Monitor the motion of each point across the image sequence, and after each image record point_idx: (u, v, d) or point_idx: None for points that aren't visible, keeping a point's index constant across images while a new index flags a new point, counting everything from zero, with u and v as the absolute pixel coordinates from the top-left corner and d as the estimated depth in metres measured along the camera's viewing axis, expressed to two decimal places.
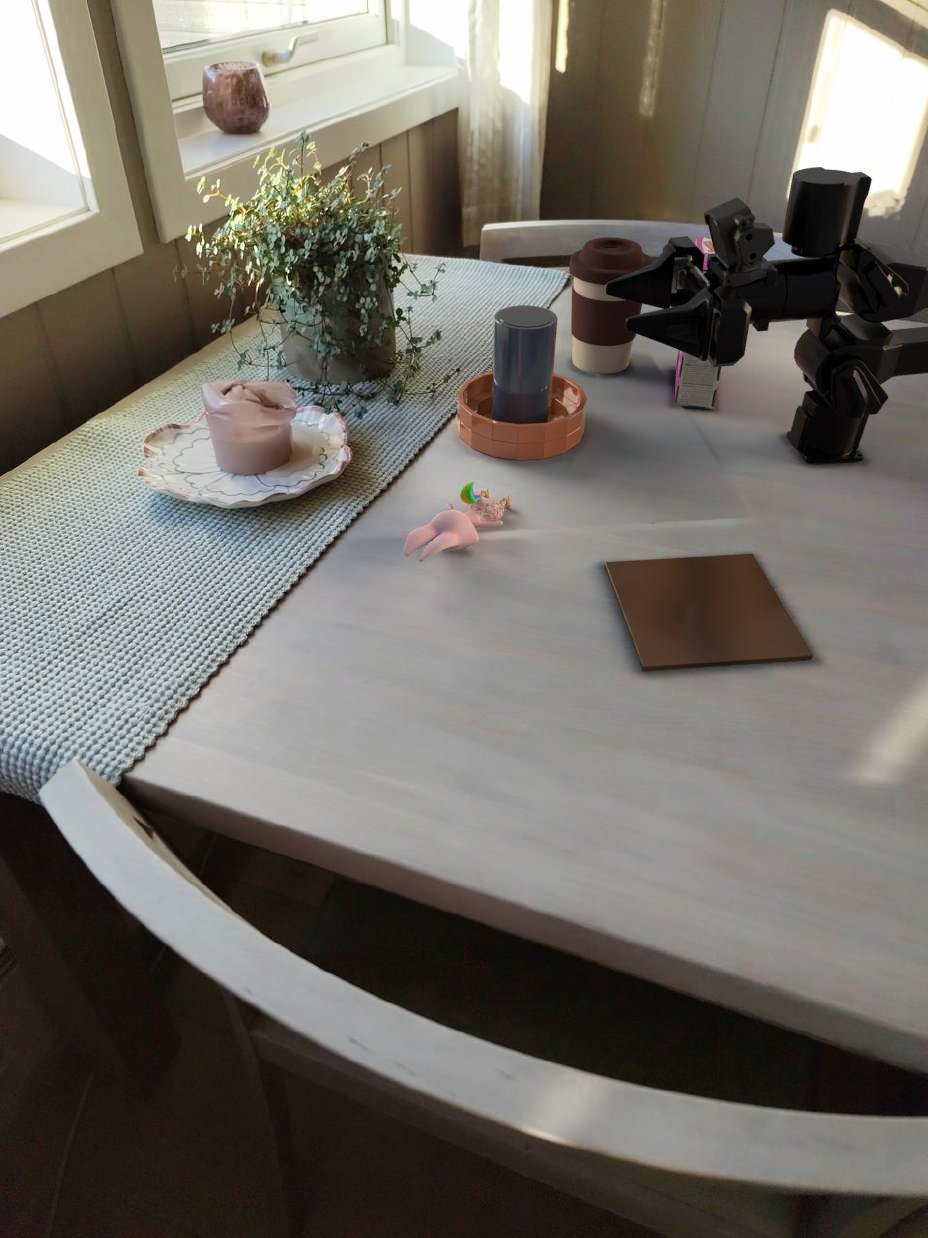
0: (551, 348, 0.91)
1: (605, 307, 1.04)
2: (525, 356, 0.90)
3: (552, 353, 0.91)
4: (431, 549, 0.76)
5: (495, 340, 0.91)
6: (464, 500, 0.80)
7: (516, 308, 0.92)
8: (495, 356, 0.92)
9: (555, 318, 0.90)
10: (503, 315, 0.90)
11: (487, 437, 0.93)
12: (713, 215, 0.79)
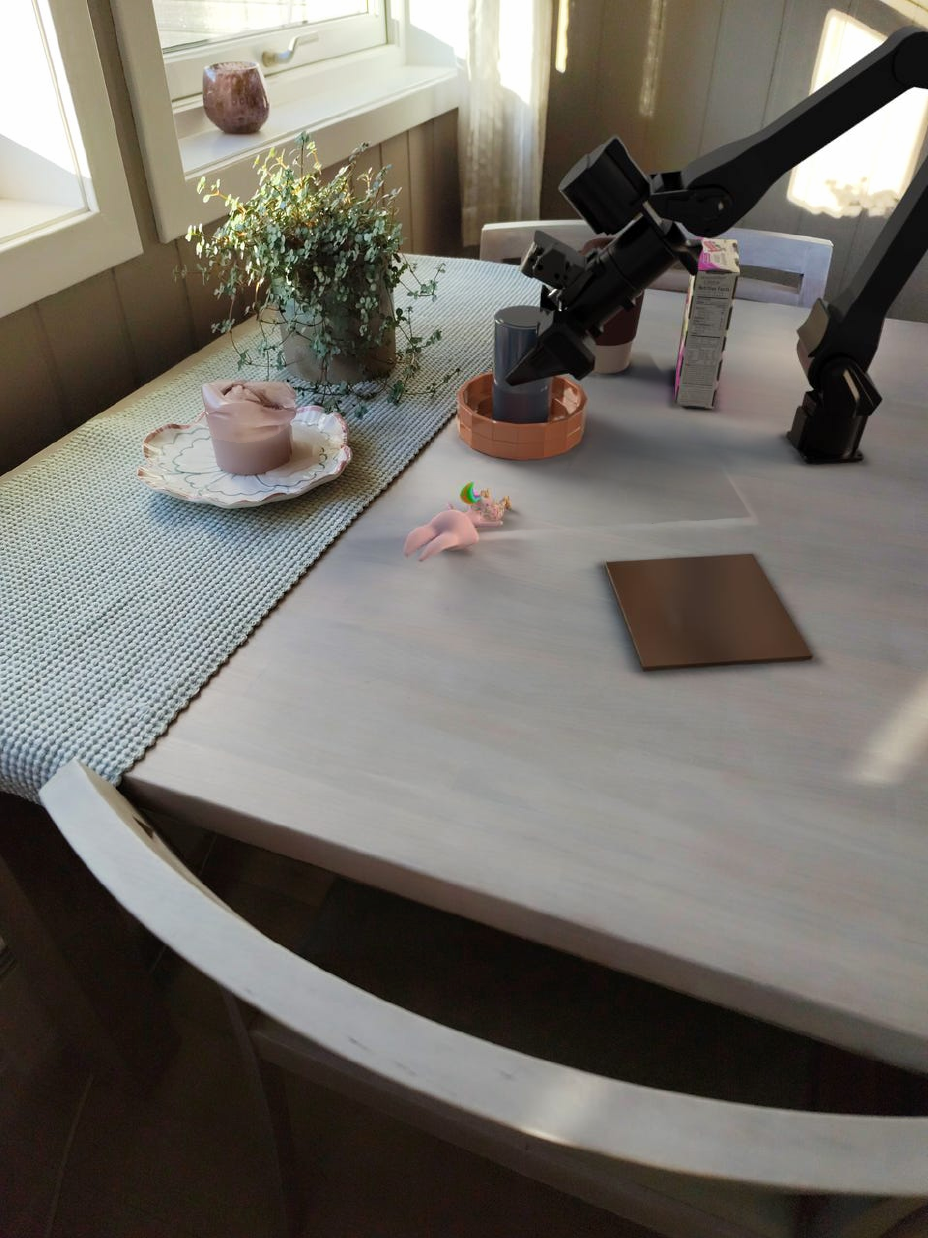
0: None
1: None
2: None
3: None
4: (431, 549, 0.76)
5: (495, 340, 0.91)
6: (464, 500, 0.80)
7: (516, 308, 0.92)
8: (495, 356, 0.92)
9: None
10: (502, 315, 0.90)
11: (487, 437, 0.93)
12: (521, 261, 0.87)
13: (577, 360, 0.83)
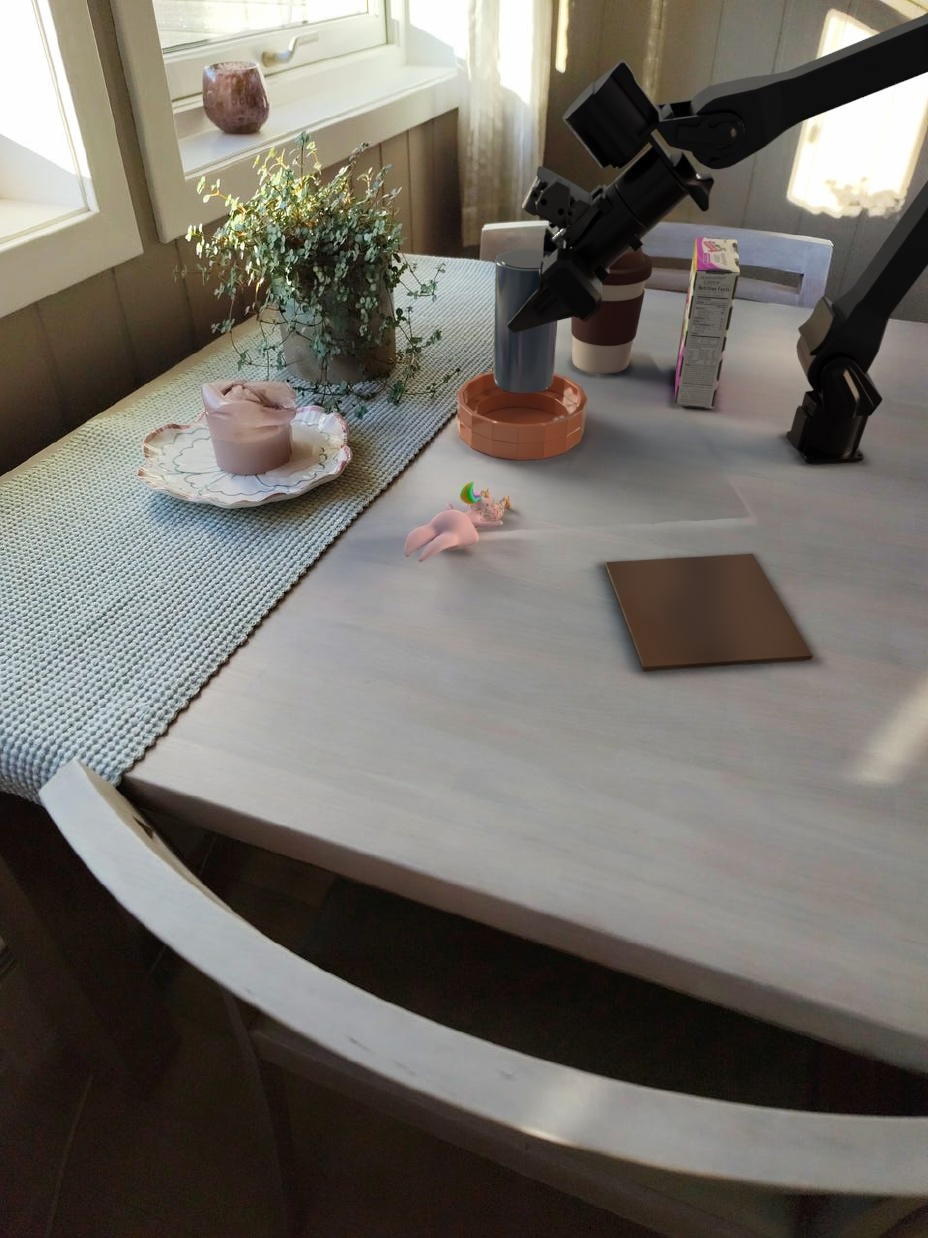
0: None
1: (605, 307, 1.04)
2: None
3: None
4: (431, 549, 0.76)
5: (496, 284, 0.87)
6: (464, 500, 0.80)
7: (518, 251, 0.88)
8: (496, 302, 0.88)
9: None
10: (504, 258, 0.87)
11: (487, 437, 0.93)
12: (524, 199, 0.83)
13: (583, 299, 0.79)
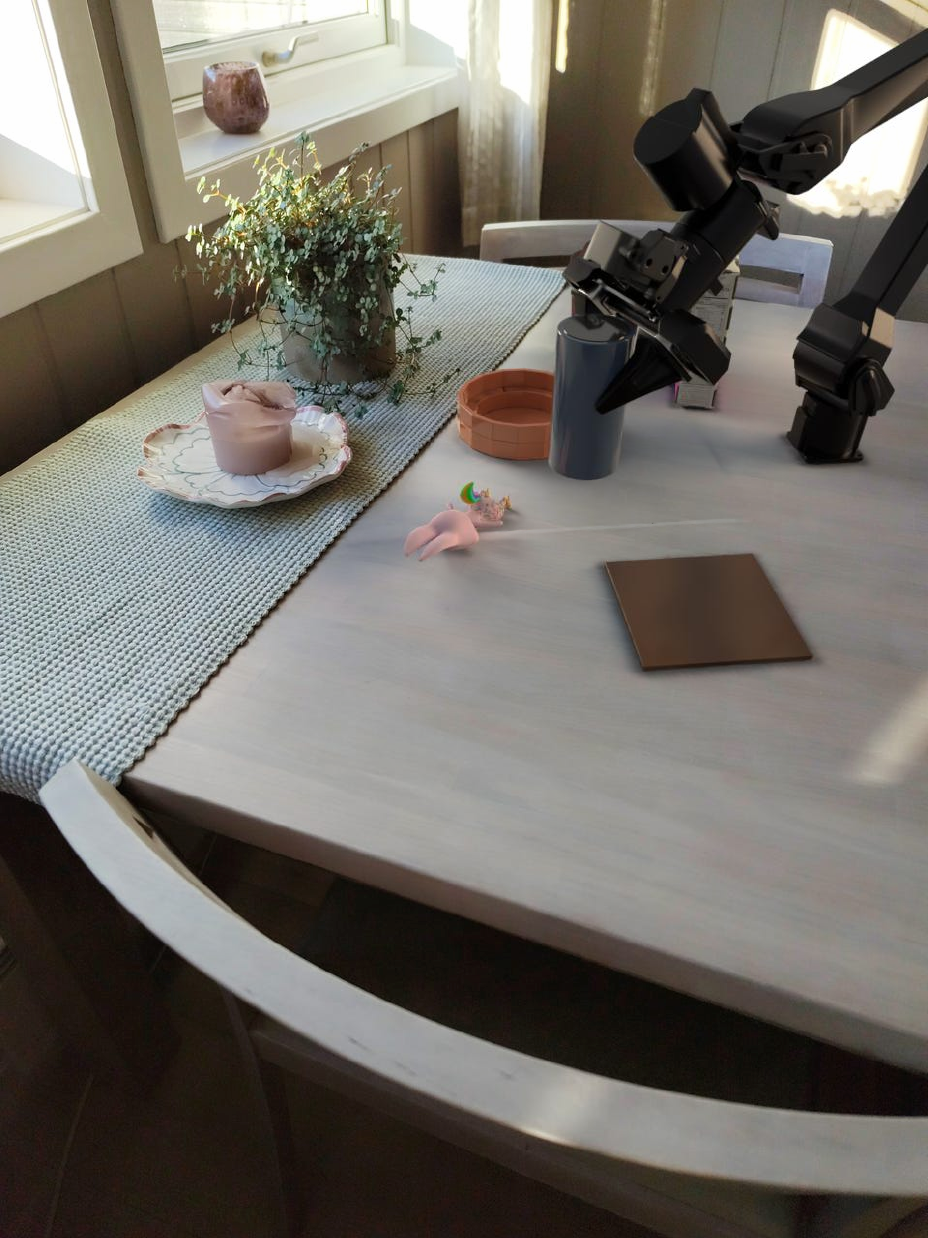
0: None
1: None
2: (616, 375, 0.73)
3: None
4: (431, 549, 0.76)
5: (571, 365, 0.73)
6: (464, 500, 0.80)
7: (572, 321, 0.74)
8: (571, 384, 0.74)
9: (627, 322, 0.74)
10: (572, 332, 0.72)
11: (487, 437, 0.93)
12: (596, 261, 0.69)
13: (718, 362, 0.69)
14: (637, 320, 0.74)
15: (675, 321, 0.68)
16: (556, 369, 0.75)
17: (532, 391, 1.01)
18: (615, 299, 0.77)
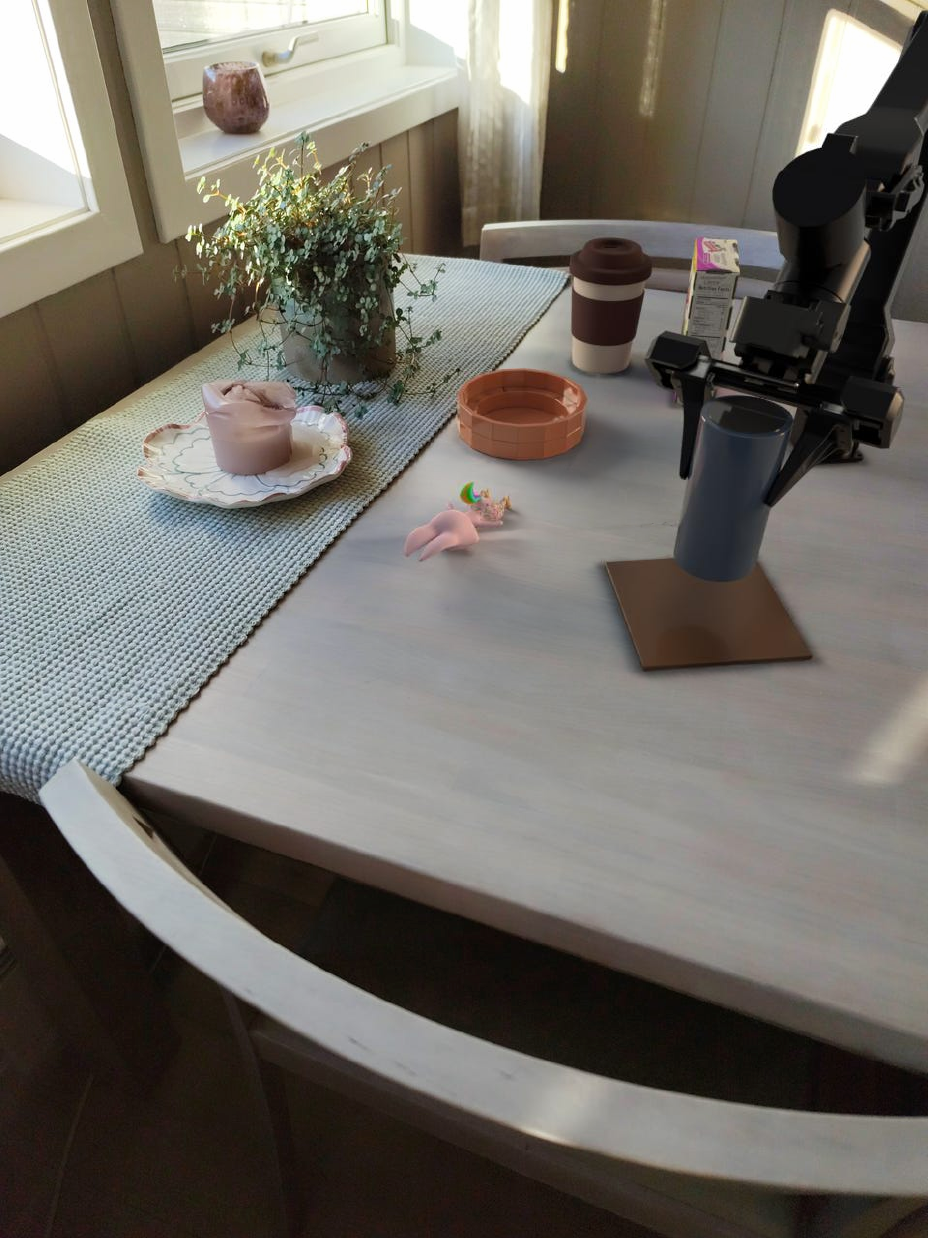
0: None
1: (605, 307, 1.04)
2: (783, 461, 0.64)
3: None
4: (431, 549, 0.76)
5: (742, 464, 0.62)
6: (464, 500, 0.80)
7: (714, 413, 0.63)
8: (740, 484, 0.63)
9: (763, 399, 0.65)
10: (736, 427, 0.61)
11: (487, 437, 0.93)
12: (762, 344, 0.59)
13: (897, 424, 0.63)
14: (770, 394, 0.65)
15: (864, 392, 0.60)
16: (712, 471, 0.63)
17: (532, 391, 1.01)
18: (722, 374, 0.67)
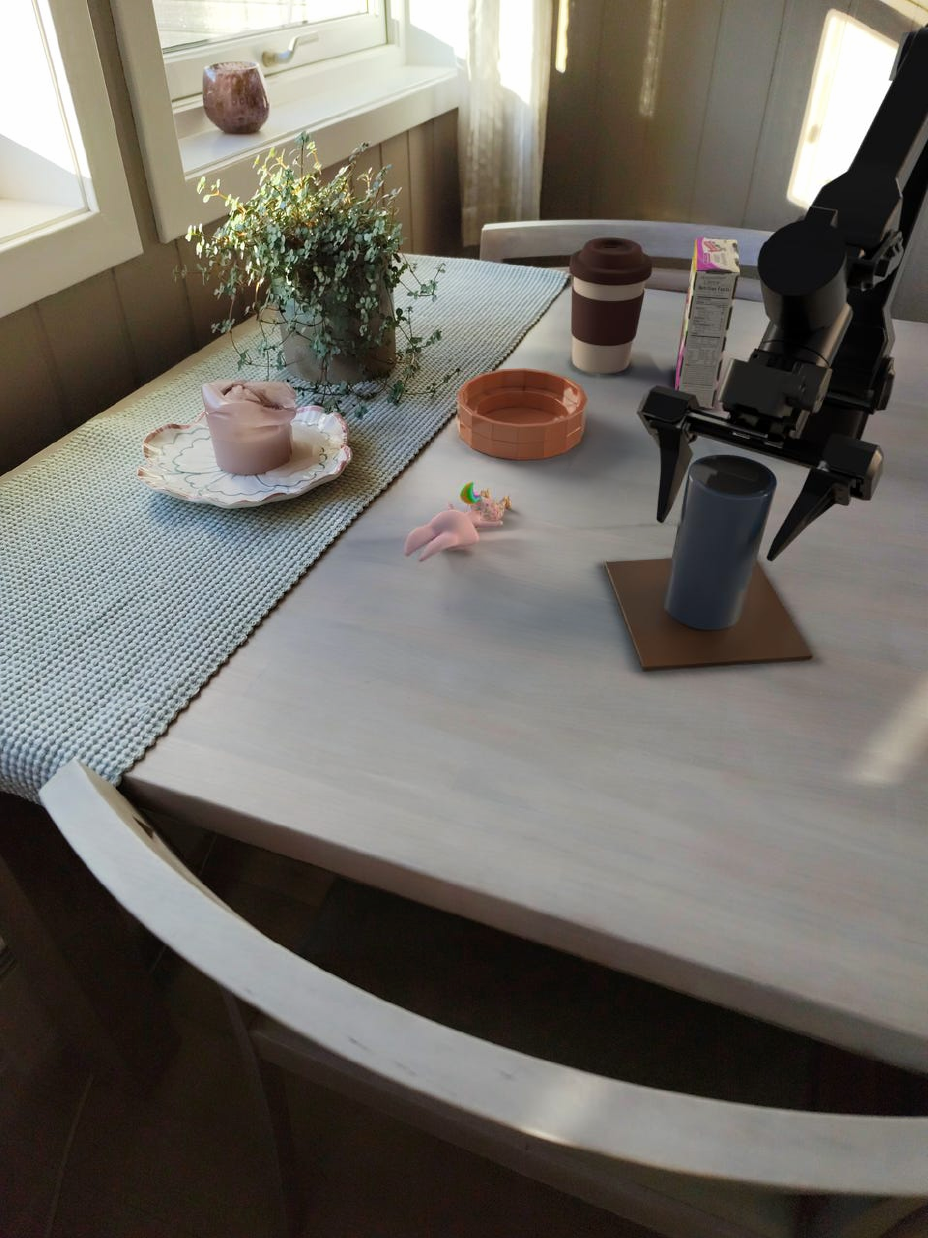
0: None
1: (605, 307, 1.04)
2: None
3: None
4: (431, 549, 0.76)
5: (728, 523, 0.65)
6: (464, 500, 0.80)
7: (702, 473, 0.66)
8: (726, 541, 0.66)
9: (748, 459, 0.68)
10: (722, 488, 0.65)
11: (487, 437, 0.93)
12: (748, 404, 0.62)
13: (878, 478, 0.66)
14: (756, 448, 0.68)
15: (845, 450, 0.63)
16: (700, 528, 0.67)
17: (532, 391, 1.01)
18: (711, 427, 0.70)
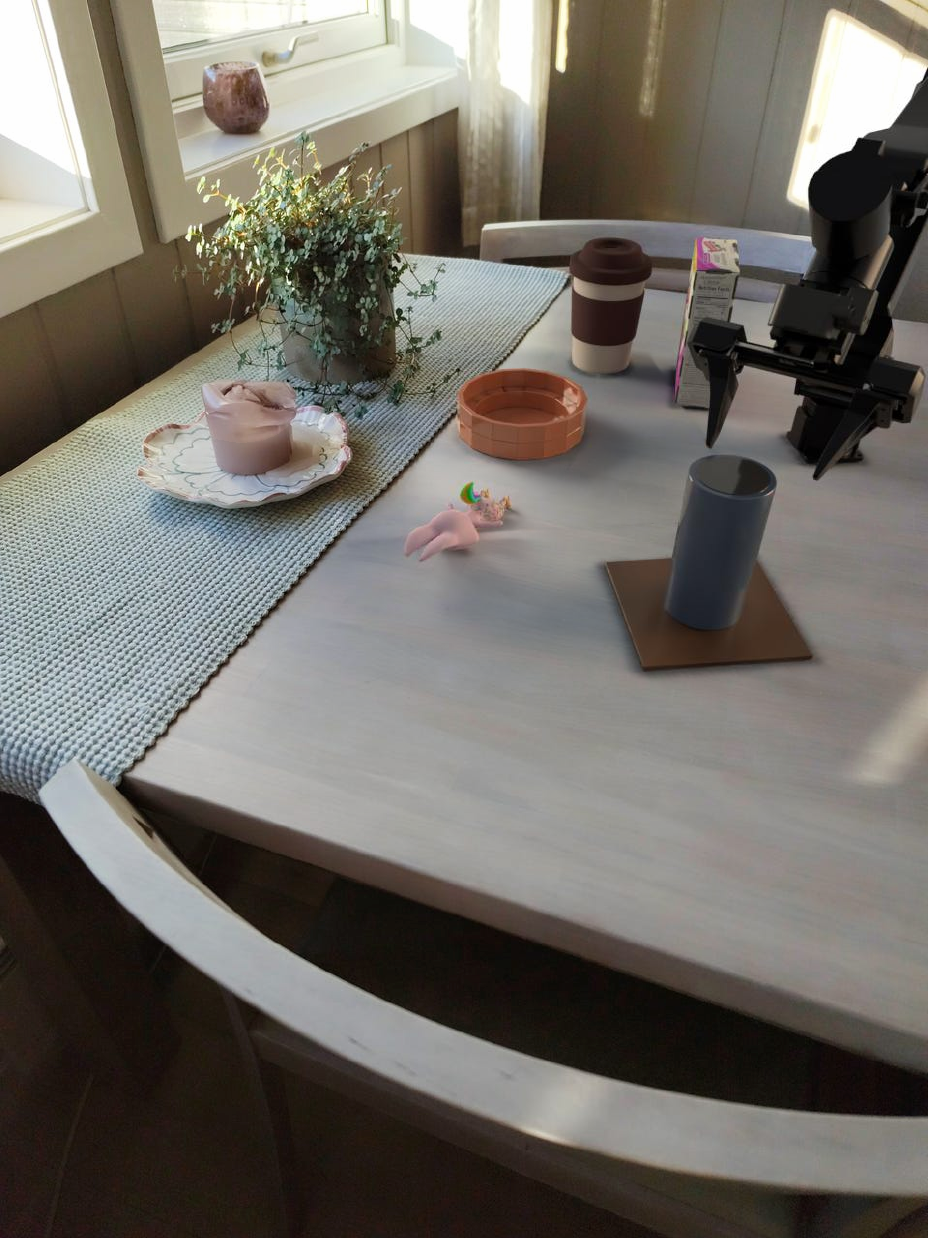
0: None
1: (605, 307, 1.04)
2: None
3: None
4: (431, 549, 0.76)
5: (728, 523, 0.65)
6: (464, 500, 0.80)
7: (702, 473, 0.66)
8: (726, 541, 0.66)
9: (748, 459, 0.68)
10: (722, 488, 0.65)
11: (487, 437, 0.93)
12: (798, 326, 0.66)
13: (918, 400, 0.69)
14: (802, 374, 0.72)
15: (889, 371, 0.67)
16: (700, 528, 0.67)
17: (532, 391, 1.01)
18: (758, 356, 0.74)
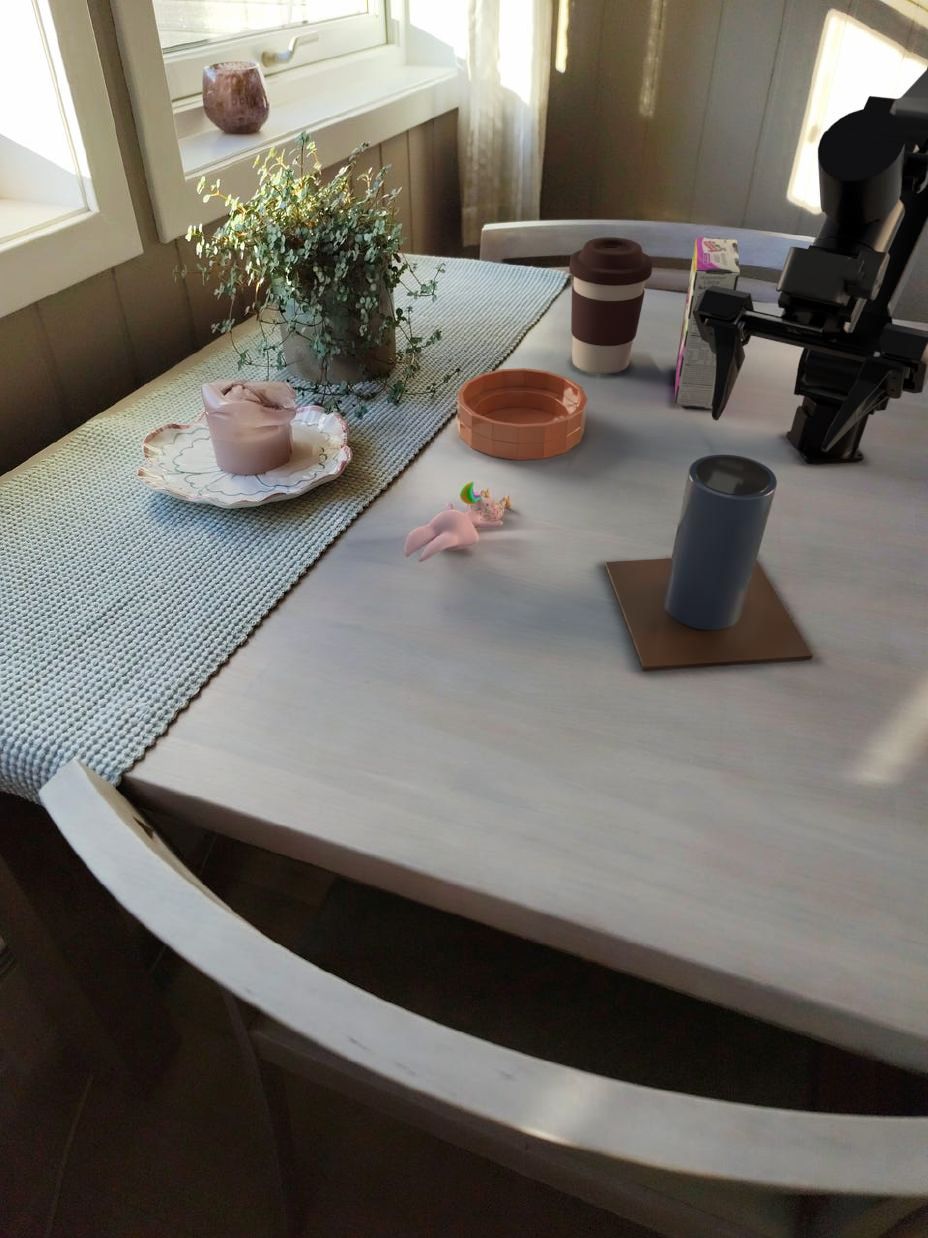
0: None
1: (605, 307, 1.04)
2: None
3: None
4: (431, 549, 0.76)
5: (728, 523, 0.65)
6: (464, 500, 0.80)
7: (702, 473, 0.66)
8: (726, 541, 0.66)
9: (748, 459, 0.68)
10: (722, 488, 0.65)
11: (487, 437, 0.93)
12: (807, 291, 0.64)
13: None
14: (810, 343, 0.70)
15: (901, 337, 0.65)
16: (700, 528, 0.67)
17: (532, 391, 1.01)
18: (765, 326, 0.72)
